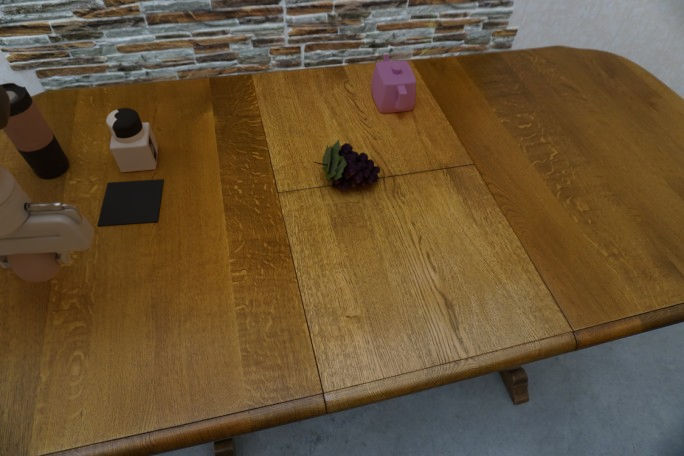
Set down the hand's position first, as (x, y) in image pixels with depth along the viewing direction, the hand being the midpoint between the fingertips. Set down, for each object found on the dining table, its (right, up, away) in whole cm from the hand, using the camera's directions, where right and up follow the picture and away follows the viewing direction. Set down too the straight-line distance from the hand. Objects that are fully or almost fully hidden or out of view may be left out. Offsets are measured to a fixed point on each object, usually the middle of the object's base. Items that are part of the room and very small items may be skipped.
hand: (38, 262), depth 72 cm
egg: (0, -2, +3) cm, 3 cm away
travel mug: (-18, +19, +32) cm, 42 cm away
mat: (+2, +11, +27) cm, 29 cm away
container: (+1, +21, +35) cm, 41 cm away
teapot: (+61, +40, +52) cm, 90 cm away
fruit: (+49, +16, +34) cm, 61 cm away
